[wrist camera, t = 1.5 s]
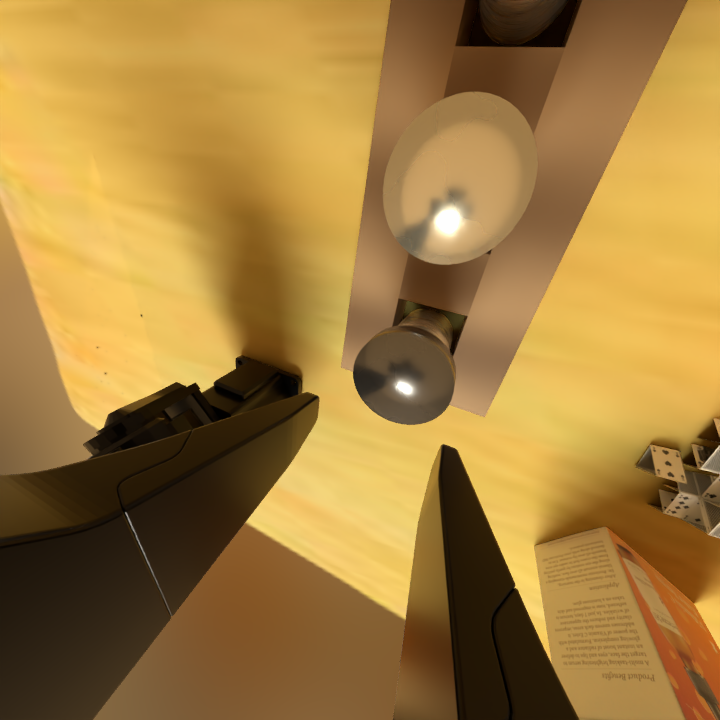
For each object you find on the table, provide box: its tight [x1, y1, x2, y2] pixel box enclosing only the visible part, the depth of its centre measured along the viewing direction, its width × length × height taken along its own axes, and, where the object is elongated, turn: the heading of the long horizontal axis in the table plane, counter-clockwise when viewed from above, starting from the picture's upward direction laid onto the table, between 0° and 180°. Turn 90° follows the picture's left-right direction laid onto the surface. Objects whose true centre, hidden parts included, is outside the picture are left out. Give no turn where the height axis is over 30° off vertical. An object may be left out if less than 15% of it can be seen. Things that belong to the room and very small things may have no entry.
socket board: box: [341, 0, 687, 417], centre depth 13 cm, size 20×9×4 cm, turn 171°
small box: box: [534, 527, 720, 720], centre depth 17 cm, size 8×6×10 cm
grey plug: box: [353, 308, 456, 425], centre depth 13 cm, size 4×4×6 cm
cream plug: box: [383, 92, 538, 265], centre depth 10 cm, size 4×4×6 cm
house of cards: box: [636, 418, 720, 538], centre depth 13 cm, size 9×9×8 cm
